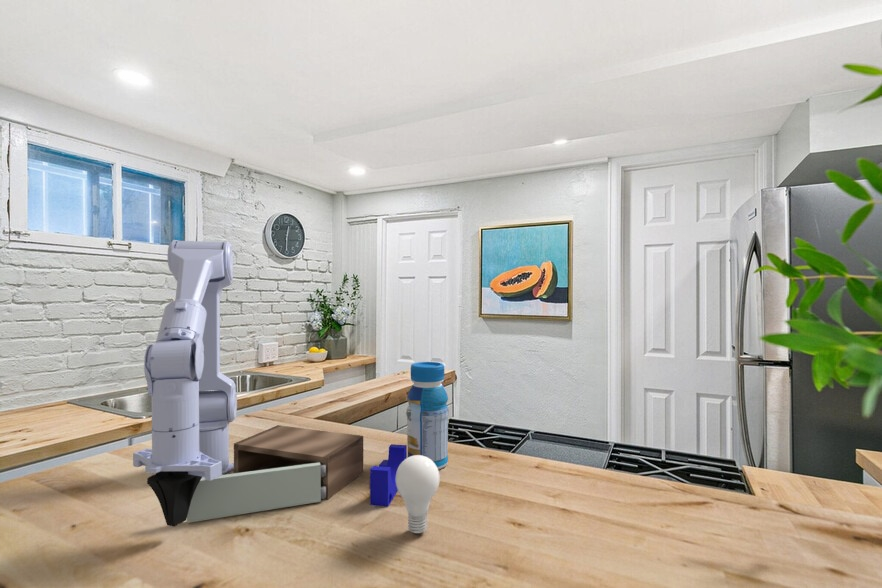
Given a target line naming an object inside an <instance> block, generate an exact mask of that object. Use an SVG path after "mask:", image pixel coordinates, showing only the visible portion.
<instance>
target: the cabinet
mask: <svg viewBox="0 0 882 588" xmlns="http://www.w3.org/2000/svg"><path fill="white" fill-rule="evenodd" d="M319 462H320V465H322V464H324V465H326V476H324V477H321V486H326V498H324V499H323V500H329V499H331V498H332V497H334V496H335V495H336V494H337V493H339V492H340V491H342V490H343V489H344V488H345V487H347V486H348V485H349V484H350V483H352V482H353V481H354V480H356V479H357V478H359V477H360V476H361V475H363V473H364V472H365V471H364V435H360V434H350V433H343V432H342V433H341V432H335V431H327V430H326V431H325V430H320V429H319V430H317V429H310V428H303V427H295V426H288V425H280V424H278V425H274V426H272V427H271V428H268V429H265V430H263V431H260V432H257V433H256V434H254V435H251V436H249V437H247V438H244V439H242V440H240V441H239V440H238V441H236V442H235V443H233V463H234V470H233V474H234V473H242V472H249V471H257V470H265V469H272V468H280V467H288V466H295V465H303V464H311V463H319Z"/></svg>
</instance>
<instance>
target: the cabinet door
mask: <svg viewBox="0 0 882 588" xmlns="http://www.w3.org/2000/svg"><path fill="white" fill-rule="evenodd" d="M324 476H326V465H324V464H322V465H320V462H319V463H311V464H303V465H295V466H288V467H280V468H272V469H265V470H257V471H249V472H242V473H234V472H233V473H226V474H224V475H221V476H219V477H217V478H215V479H213V480H211V481H208V480H205V477H203V478H201V480H200V482H199V484H198V485H197V487H196V490H195V492H194V494H193V497H192V500H191V504H190V507H189V511H188V515H187V519H186V523H187V524H188V523H193V522H194V523H195V522H200V521H207V520H212V519H220V518H225V517H226V518H227V517H232V516H238V515H246V514H251V513H258V512H265V511H269V510H270V511H271V510H276V509H277V510H278V509H283V508H288V507H295V506H301V505H308V504H313V503H321V501H322V500H325V499H324V498H326V486H321V477H324Z"/></svg>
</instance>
